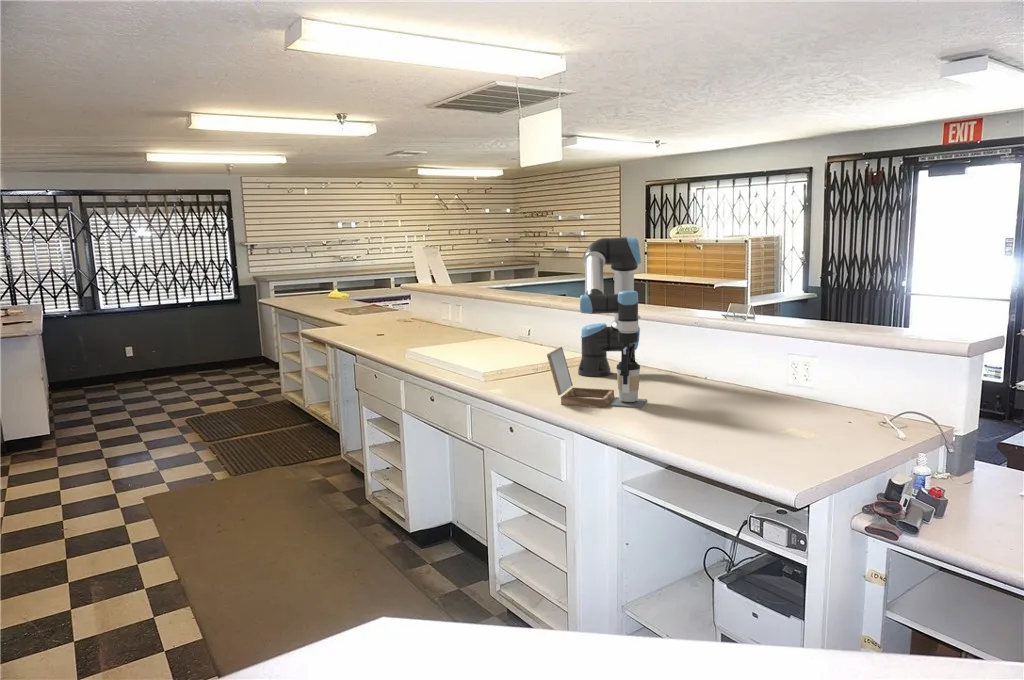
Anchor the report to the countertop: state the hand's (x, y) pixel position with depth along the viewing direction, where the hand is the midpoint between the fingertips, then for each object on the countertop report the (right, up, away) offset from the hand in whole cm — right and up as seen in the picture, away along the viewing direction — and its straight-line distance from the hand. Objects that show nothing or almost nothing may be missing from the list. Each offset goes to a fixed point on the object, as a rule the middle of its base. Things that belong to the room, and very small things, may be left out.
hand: (628, 389), depth 254 cm
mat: (0, -5, +1) cm, 5 cm away
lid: (-25, +7, +9) cm, 28 cm away
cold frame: (-15, -5, +7) cm, 17 cm away
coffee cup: (0, -4, +1) cm, 4 cm away
